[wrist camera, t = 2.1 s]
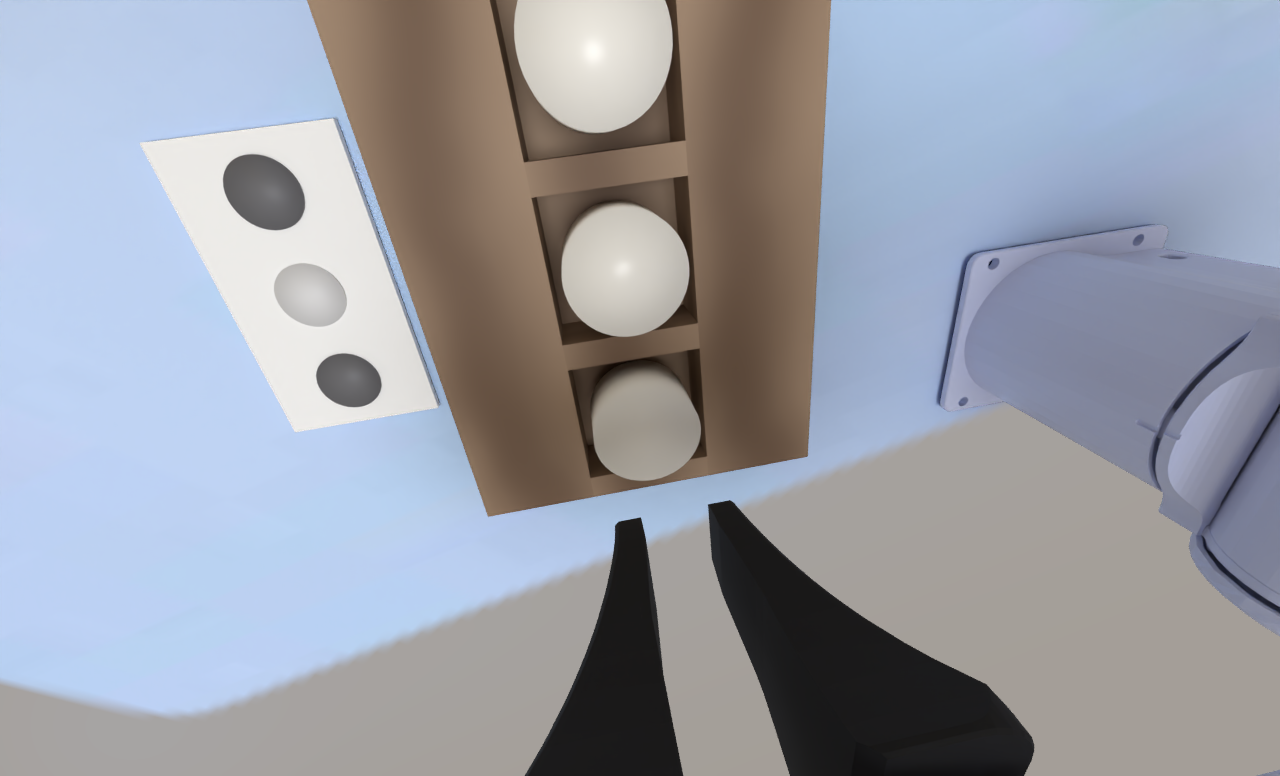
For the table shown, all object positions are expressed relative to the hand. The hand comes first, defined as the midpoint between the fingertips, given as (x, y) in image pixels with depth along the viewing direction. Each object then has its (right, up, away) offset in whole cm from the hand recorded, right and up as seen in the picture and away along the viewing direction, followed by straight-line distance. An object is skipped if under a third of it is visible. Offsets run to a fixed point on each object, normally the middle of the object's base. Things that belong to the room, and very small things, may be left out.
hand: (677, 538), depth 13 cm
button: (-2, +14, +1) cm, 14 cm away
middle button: (-2, +9, +4) cm, 10 cm away
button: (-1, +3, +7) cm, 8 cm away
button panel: (-2, +10, +6) cm, 12 cm away
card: (-13, +8, +5) cm, 16 cm away
